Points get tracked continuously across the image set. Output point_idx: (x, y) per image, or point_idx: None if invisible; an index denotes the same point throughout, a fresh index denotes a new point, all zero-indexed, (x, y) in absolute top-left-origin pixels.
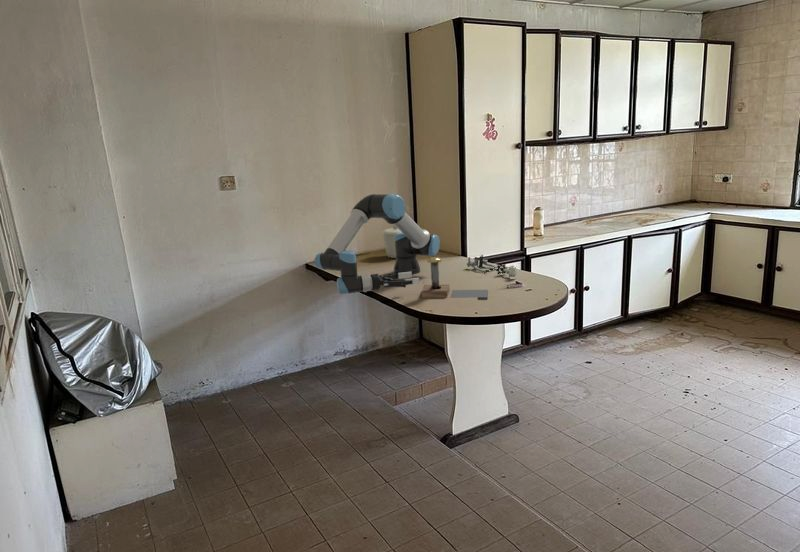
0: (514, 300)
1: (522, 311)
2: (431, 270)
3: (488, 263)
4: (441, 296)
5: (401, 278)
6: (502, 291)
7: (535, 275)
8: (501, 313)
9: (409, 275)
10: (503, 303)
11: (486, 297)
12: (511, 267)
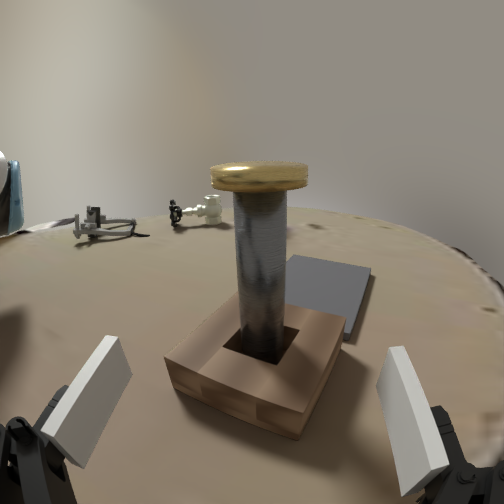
0: (387, 249)
1: (461, 257)
2: (265, 251)
3: (107, 218)
4: (336, 354)
5: (94, 446)
6: (306, 246)
7: (222, 209)
8: (481, 278)
9: (118, 375)
10: (410, 263)
11: (370, 270)
12: (216, 198)
